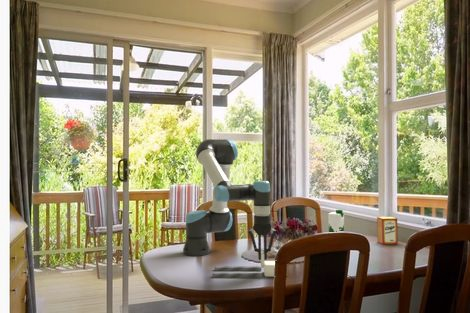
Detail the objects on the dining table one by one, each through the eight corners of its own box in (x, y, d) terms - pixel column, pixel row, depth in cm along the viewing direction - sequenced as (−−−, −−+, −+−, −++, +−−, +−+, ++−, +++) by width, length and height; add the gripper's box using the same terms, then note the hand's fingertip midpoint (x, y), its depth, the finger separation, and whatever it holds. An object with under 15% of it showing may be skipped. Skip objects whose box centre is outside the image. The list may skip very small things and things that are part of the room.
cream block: (264, 276, 159) (264, 265, 159) (264, 271, 166) (264, 260, 166) (287, 276, 159) (287, 265, 159) (286, 271, 166) (285, 260, 166)
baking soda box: (392, 241, 226) (391, 216, 226) (397, 244, 219) (397, 217, 220) (377, 242, 225) (377, 216, 225) (382, 244, 218) (382, 218, 219)
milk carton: (340, 243, 222) (339, 211, 223) (326, 241, 228) (326, 210, 229) (346, 241, 229) (345, 209, 230) (332, 239, 235) (332, 208, 235)
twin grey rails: (212, 277, 158) (212, 274, 159) (214, 269, 170) (214, 266, 170) (262, 277, 157) (261, 274, 157) (261, 269, 169) (261, 266, 169)
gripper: (247, 216, 160) (248, 269, 160) (276, 216, 160) (277, 269, 159) (248, 213, 168) (248, 264, 167) (275, 213, 167) (276, 264, 167)
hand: (262, 266), depth 163 cm, fingers closed
